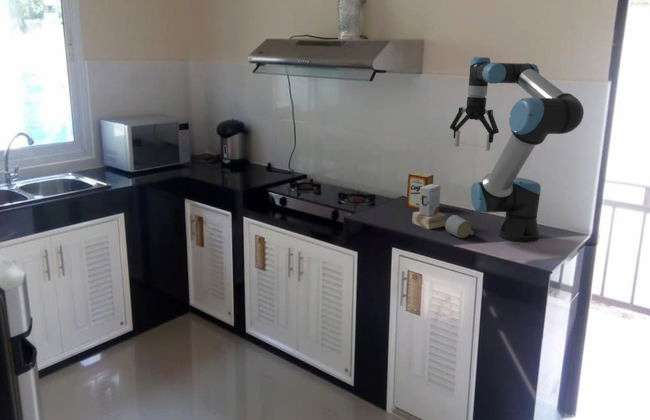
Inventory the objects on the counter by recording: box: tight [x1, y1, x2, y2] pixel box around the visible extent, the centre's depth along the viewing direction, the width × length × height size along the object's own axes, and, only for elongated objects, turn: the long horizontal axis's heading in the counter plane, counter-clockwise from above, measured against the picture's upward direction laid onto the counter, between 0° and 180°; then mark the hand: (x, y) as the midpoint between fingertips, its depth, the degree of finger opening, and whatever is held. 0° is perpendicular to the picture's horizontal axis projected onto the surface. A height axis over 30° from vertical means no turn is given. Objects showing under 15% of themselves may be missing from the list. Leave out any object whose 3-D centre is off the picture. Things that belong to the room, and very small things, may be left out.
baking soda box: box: [406, 171, 435, 210], centre depth 257 cm, size 10×6×16 cm
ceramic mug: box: [444, 214, 475, 239], centre depth 219 cm, size 11×8×8 cm
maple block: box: [411, 211, 448, 230], centre depth 232 cm, size 10×10×5 cm
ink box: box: [418, 183, 441, 216], centre depth 230 cm, size 9×5×12 cm, turn 138°
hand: (471, 148), depth 230 cm, fingers open, 13 cm apart
